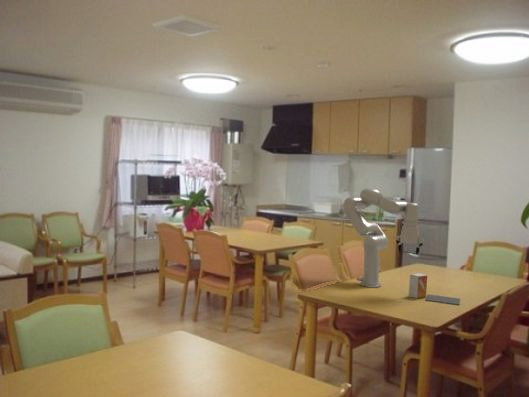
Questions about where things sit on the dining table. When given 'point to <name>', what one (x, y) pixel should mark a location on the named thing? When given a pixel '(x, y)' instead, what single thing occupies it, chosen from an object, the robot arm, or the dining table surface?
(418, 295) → the small box
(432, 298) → the mat
